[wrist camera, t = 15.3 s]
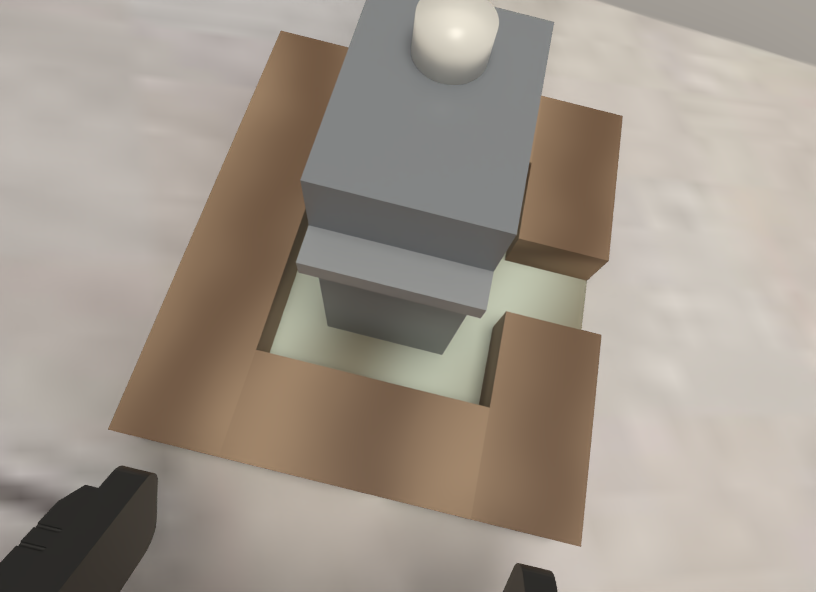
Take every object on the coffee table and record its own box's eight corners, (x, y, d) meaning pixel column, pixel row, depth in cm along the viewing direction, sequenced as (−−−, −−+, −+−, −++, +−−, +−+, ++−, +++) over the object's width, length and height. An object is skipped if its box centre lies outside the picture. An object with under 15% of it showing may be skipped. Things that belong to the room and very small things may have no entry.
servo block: (320, 350, 19) (277, 195, 9) (373, 175, 22) (386, -93, 12) (436, 380, 19) (524, 257, 9) (475, 200, 22) (574, -46, 12)
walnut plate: (141, 437, 18) (107, 429, 16) (288, 76, 24) (280, 30, 22) (551, 539, 18) (580, 546, 16) (596, 153, 25) (622, 116, 22)
